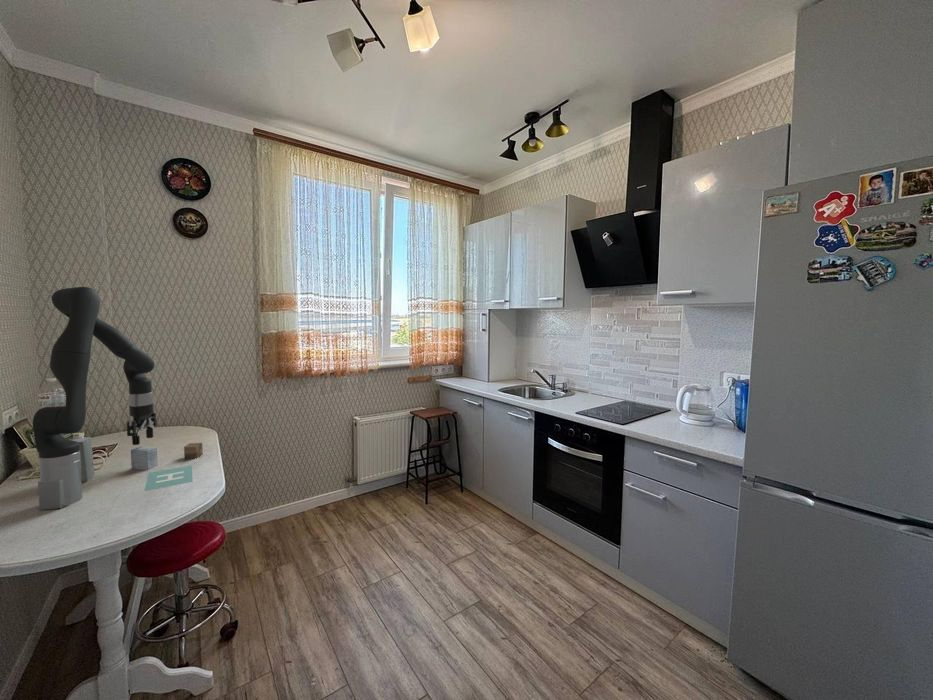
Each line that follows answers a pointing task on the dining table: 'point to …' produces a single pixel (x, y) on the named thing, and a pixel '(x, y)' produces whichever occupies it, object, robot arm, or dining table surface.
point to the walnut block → (193, 451)
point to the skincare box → (86, 458)
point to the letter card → (169, 477)
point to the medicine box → (144, 458)
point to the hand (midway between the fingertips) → (143, 441)
